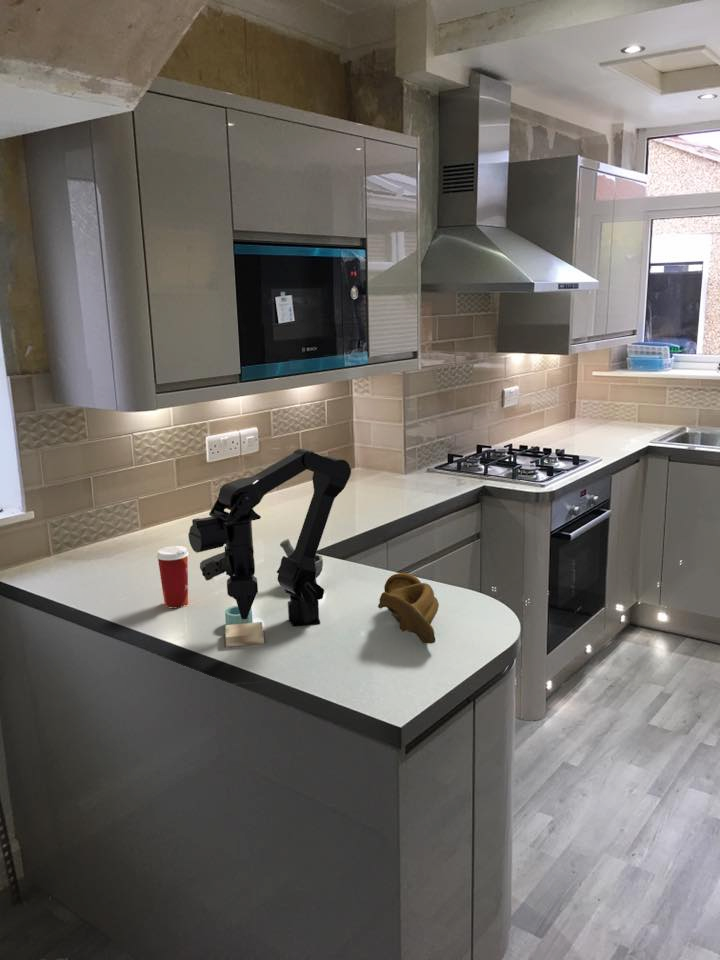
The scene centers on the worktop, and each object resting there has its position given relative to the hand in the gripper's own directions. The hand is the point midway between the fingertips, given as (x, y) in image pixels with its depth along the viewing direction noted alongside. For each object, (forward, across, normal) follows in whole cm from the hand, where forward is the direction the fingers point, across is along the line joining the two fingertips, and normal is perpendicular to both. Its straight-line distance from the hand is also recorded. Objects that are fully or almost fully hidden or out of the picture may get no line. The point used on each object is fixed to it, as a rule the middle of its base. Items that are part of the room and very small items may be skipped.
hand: (243, 610), depth 170 cm
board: (+6, 0, 0) cm, 7 cm away
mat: (+7, 0, 0) cm, 7 cm away
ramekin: (+7, -8, -1) cm, 11 cm away
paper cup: (+7, -25, -16) cm, 31 cm away
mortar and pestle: (+7, -32, +16) cm, 37 cm away
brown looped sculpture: (+7, +2, +36) cm, 37 cm away
